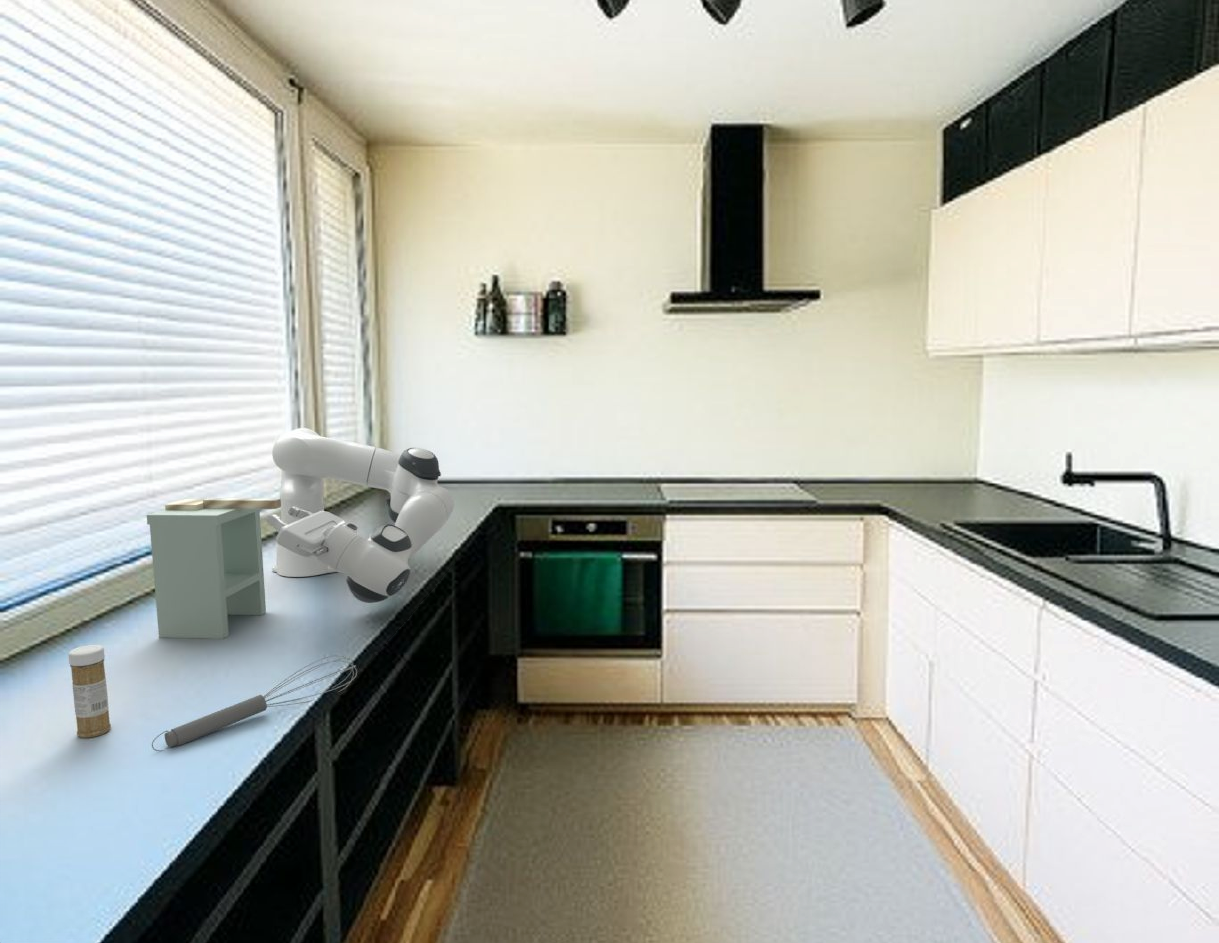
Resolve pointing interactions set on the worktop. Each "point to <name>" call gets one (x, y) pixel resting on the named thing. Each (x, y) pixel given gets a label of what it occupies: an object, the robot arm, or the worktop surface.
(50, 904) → the worktop surface
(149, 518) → the shelf
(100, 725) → the sprinkles bottle
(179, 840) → the worktop surface
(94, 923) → the worktop surface
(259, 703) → the kitchen whisk
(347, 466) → the robot arm
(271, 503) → the turner
